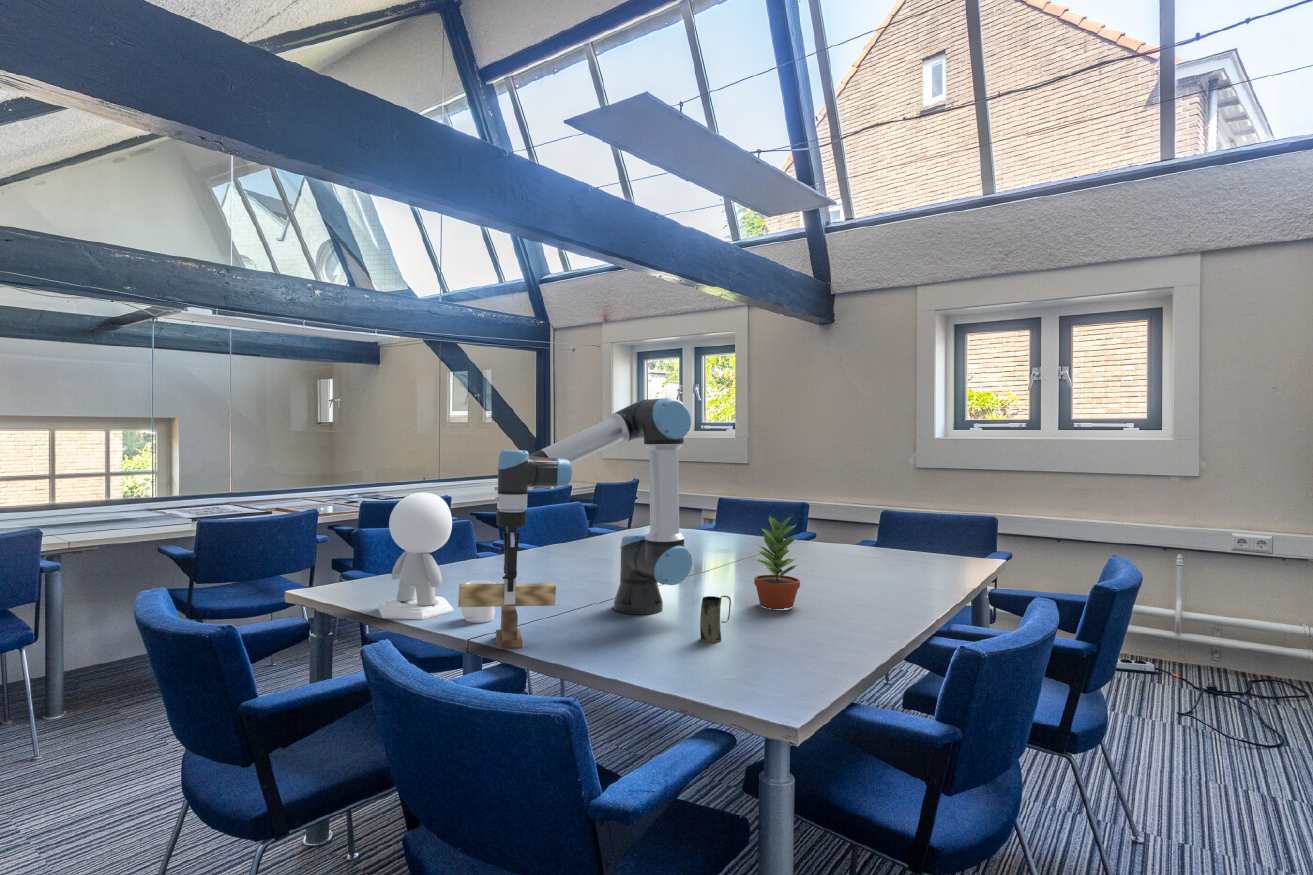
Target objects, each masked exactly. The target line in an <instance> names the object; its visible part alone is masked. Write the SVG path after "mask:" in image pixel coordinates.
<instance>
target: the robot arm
mask: <svg viewBox="0 0 1313 875" xmlns="http://www.w3.org/2000/svg"><path fill="white" fill-rule="evenodd" d="M691 425H692V417H691V414H690V411H689V408H688V407H687V405H685V404H684V403H683V402H682V401H680V400H679V399H677V398H676V399H675V398H668V397H665V398H663V397H662V398H650V399H641V400H639V401H636V402H633V403H632V404H630V405H628V406H626V407H624V408H622V409H619V410H618V411H615V412H613V413H611V414H610V416H609V418H607V419H606V420H603V421H601V422H599V423H597V424H595V425H593V426H590V427H588V428H586V429H584V430H581V431H579V432H577V433H574V434H572V435H571V436H568V437H566V438H564V439H562V440H560V441H559V440H558V441H557V442H556V443H552V444H551V445H548V446H546V447H544V448H541V449H540V450H538V451H535V452H533V453H531V454H529V451H528V450H522V449H521V450H519V449H517V450H516V449H503V450H500V452H499V455H498V461H497V496H495V498H494V501H495V502H496V503H497V505H496V508H497V509H498V510H497V512H496V525H497V526H498V527H503V528H505V532H504V531H503V532H502V540H503V550H504V553H503V554H504V555H503V556H504V558H503V563H504V564H503V576H502V580H503V584H505V589H504V605H505V604H515V592H516V584H517V575H518V571H517V569H518V567H517V566H518V563H517V562H518V550H519V541H520V533H519V532H518V531H517V528H519V527H520V528H523V527H526V525H527V520H528V519H527V516H528V515H527V511H526V510H527V509H528V496H529V495H528V488H533V487H537V488H538V487H543V488H544V487H555V488H559V487H566V486H568V485H570V483H571V481H572V477H573V467H572V465H573V464H575V463H578V462H580V461H582V460H584V459H586V458H588V457H590V456H593V455H595V454H597V453H599V452H601V451H603V450H605V449H607V448H609V447H611V446H613V445H615V444H618V443H622V444H625V443H628V442H630V441H632V440H637V439H642V438H643V445H644V447H646V449H648V451H649V452H648V453H649V454H648V455H649V456H648V457H649V460H648V461H649V532H648V533H641V534H628V535H624V536H622V538H621V543H620V576H619V577H620V579H619V580H620V581H619V585H618V589H617V592H616V593H615V598H614V600H613V609H614V610H615V611H617V612H620V613H622V614H628V615H629V614H630V615H648V614H649V615H650V614H656V613H660V612H661V611H663V608H664V606H663V604H664V602H663V599H662V595H661V592H660V588H659V585H667V586H676V585H679V584H681V583H682V582H683V581H684V580H686V578H687V577H688V576H689V574H690V573H691V570H692V566H693V557H692V554H691V552H690V551H689V550H688V549H687V548H686V547H685V535H683V533H681V532H680V498H679V497H680V492H679V490H680V489H679V487H680V486H679V484H680V479H679V478H680V477H679V476H680V474H679V473H680V470H679V469H680V468H679V466H680V465H679V458H680V457H679V455H680V454H679V451H680V449H681V448H682V447H683V446H684V442H685V441H684V440H685V439H684V438H685V436H686V435H687V434H688V432H689V431H690V429H691ZM658 584H659V585H658Z"/></svg>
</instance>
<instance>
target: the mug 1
mask: <svg viewBox="0 0 1313 875" xmlns="http://www.w3.org/2000/svg"><path fill="white" fill-rule="evenodd" d="M465 584H496V583H495V581H492V580H472V581H468V582H466V583H465ZM495 608H496V607H460V609H461V614H462V615H463V617H464V620H465V621H466V622H468V623H471V624H472V623H473V624H481V623H483V624H484V623H488V622H492V621H493V620H494V619H495V612H496V611H495V610H496V609H495Z"/></svg>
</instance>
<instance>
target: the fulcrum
mask: <svg viewBox="0 0 1313 875" xmlns="http://www.w3.org/2000/svg"><path fill="white" fill-rule="evenodd" d="M500 607H501V608H500V610H501V612H500V613H501V614H500V629H495V642H496V647H497V649H498V650H500V649H501V650H502V649H519V648H523V638H522V632H521V630H520V628H518V623H519V621H518V619H519V618H518V617H519V616H518V612H517V609H516V606H500Z"/></svg>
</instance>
